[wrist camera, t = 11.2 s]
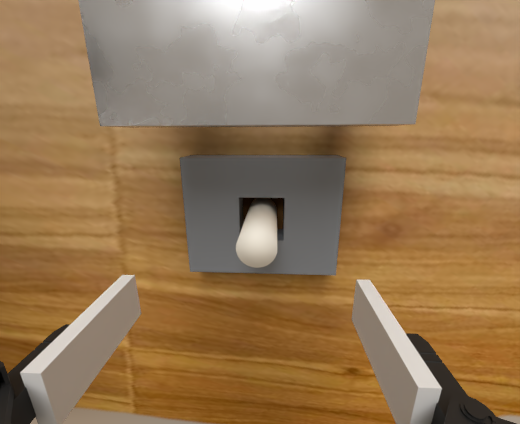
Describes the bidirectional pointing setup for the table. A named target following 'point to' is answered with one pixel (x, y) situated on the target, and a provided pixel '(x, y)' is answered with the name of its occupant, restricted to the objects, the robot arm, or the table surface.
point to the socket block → (263, 186)
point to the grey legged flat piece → (256, 61)
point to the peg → (258, 234)
